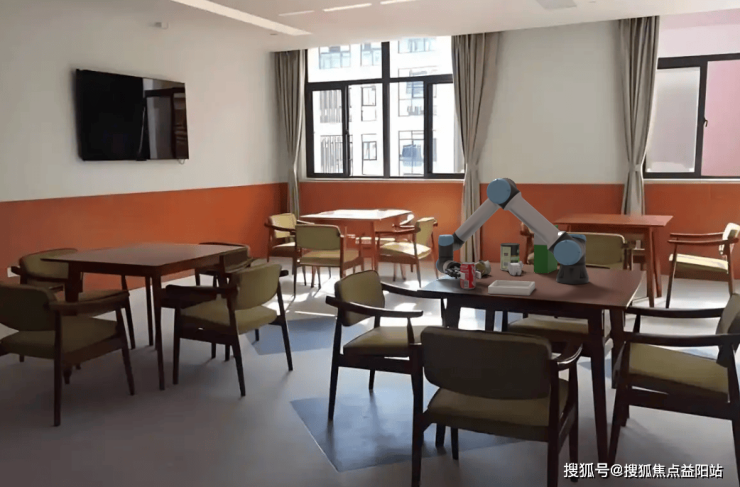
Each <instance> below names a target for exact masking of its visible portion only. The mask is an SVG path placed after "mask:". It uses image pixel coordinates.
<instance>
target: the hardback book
mask: <svg viewBox="0 0 740 487" xmlns="http://www.w3.org/2000/svg"><path fill="white" fill-rule="evenodd" d="M553 225H554V224H553ZM554 226H555V227H556V228H557V229H558V230H559V225H558V224H555V225H554ZM556 270H558V261H557V260H556V259H555V257H554V255H553V254H552V253H551V252H550V251H549V250H548V249H547V244H546V243H545V242H544V241H543V240H542V239H540V238H539V237H538V236H537V235H536V234H535V233H534V232H533V273H534V272H535V273H534V274H544V273H548V274H550V273H552V272H554V271H556ZM549 272H550V273H549Z"/></svg>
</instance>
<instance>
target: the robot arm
mask: <svg viewBox="0 0 740 487" xmlns="http://www.w3.org/2000/svg"><path fill="white" fill-rule="evenodd" d="M517 187H518V186H517V184H516V183H515V181H514V180H513V179H511V178H508V177H503V178H502V177H498V178H494V179H493V180H491V181H490V182H489V184H488V185H487V188H486V197H487V198H486V200H484V202H482V203H481V205H480V206H478V208H477V209H476V210H475V211H474V212H473V213H472V214H471V215H470V216H469V217H468V218H467V219H466V220H465V221H464V222H463V223H462V224H461V225H460V226H459V227H457V229H456V230H455V231H454V232H453V233H452V234H439V235H438V238H437V239H438V240H437V244H438V246H437V247H438V249H437V250H438V256H437V258H438V259H437V260H436V262H435V268H436V269H437V271H438V272H440V273H441V274H444V275H447V276H448V277H450V278H454V279H455V280H457V279H458V278H459V279H460V278H461V279H463V280H465V273H462V272H460V266H461V264H462V263H460V262H459V261H456V260H454V252H455V251H459V250H460V249H461V248H462V247H463V245H464V244H466V242H467V241H468V240H469V239H470V238H471V237H472V236H473V235H474V234H475V233H476V232H477V231H478V230H479V229H480V228H481V227H482V226H483V225H484V224H485V223H486V222H488V220H489V219H490V218H491V217H492V216H493V215H494V214H495V213H496V212H497V211H498V210H499V209H502V210H503V211H509V212H510V213H511V214H512V215H514V216H515V217H516V218H517V219H518V220H519V222H522V224H524V225H525V226H526V227H527V228H528V229H529V230H530V231H531V232H533V234H534V233H535V234H536V235H537V236H538V237H539V238H540V239H542V240H543V241H544V242H545V243H546V244H547V249H548V250H549V251H550V252H551V253H552V254H553V255H554V257H555V259H556V260H557V263H559V264H560V265H559V269H558V271H557V273H556V276H555V277H556V282H557V283H561V284H566V285H567V284H568V285H582V284H588V283H590V277H589V273H588V270H587V267H586V261H587V260H586V259H587V257H586V255H587V254H586V251H587V250H586V248H587V237H586V235H585V234H580V233H579V234H577V233H570V234H569V233H568V232H567V231H566V230H560V229H559V228H558V229H557V228H556V227H555V226H554V224H553V223H552V222H550V221H549V220H548V219H547V218H546V217H545V216H544V215H543V214H542V213H540V212H539V211H538V210H537V209H536V208H535V207H533V205H532V204H530V203H529V202H528V201H527V200H525V198H524V197H523V196H522V192H521V190H519V189H518V188H517ZM476 278H478V279H482V276H481V273H480V270H477V269H476Z"/></svg>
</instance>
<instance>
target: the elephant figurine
mask: <svg viewBox="0 0 740 487" xmlns="http://www.w3.org/2000/svg"><path fill="white" fill-rule="evenodd" d="M523 267H524V263H523V261H522V260H519V262H518V263H510V262H508V268H507V269H508V270H509V271H508V272H509V275H511V276H516V275H517V276H520V275H522V270H523Z"/></svg>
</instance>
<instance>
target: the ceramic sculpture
mask: <svg viewBox="0 0 740 487" xmlns="http://www.w3.org/2000/svg"><path fill="white" fill-rule="evenodd" d="M474 265H475V268H476V269H477V270H480V273H481V277H483V276H484V275H491V274H490V273H491V272H492V267H491V266H492V265H491V263H490V260H488V259H487V260H486V261H485V260H483V259H478V261H477V262H474Z"/></svg>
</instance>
